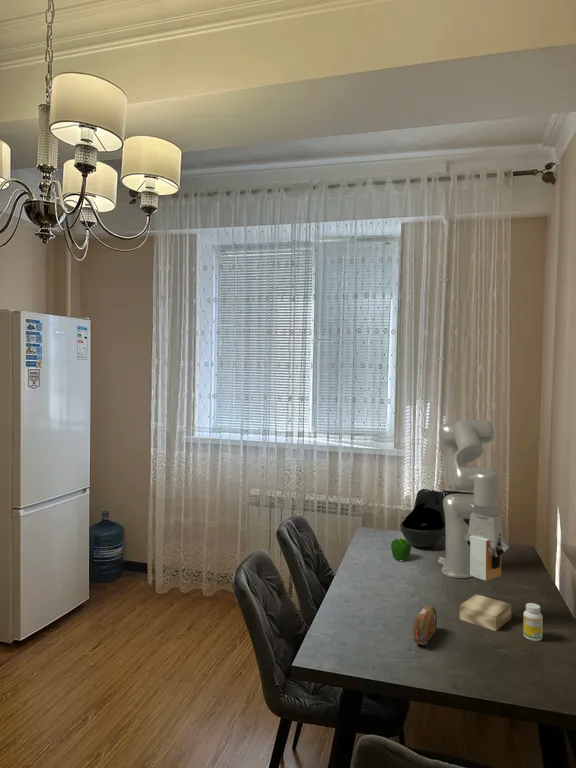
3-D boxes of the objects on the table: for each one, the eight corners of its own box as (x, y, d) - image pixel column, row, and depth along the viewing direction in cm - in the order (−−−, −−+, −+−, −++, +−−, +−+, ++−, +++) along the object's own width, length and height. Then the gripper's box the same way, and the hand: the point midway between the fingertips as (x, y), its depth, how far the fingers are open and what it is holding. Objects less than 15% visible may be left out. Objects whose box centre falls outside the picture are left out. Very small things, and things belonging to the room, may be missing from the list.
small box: (486, 581, 176) (486, 540, 176) (469, 575, 181) (469, 535, 181) (501, 576, 180) (502, 536, 180) (485, 570, 186) (485, 531, 185)
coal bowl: (431, 556, 241) (431, 513, 241) (391, 547, 255) (391, 506, 254) (452, 546, 256) (452, 505, 256) (414, 537, 270) (414, 498, 269)
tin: (422, 650, 161) (421, 621, 161) (411, 647, 163) (411, 619, 162) (437, 629, 174) (437, 603, 174) (427, 627, 175) (427, 601, 175)
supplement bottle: (538, 643, 165) (538, 611, 165) (520, 636, 169) (520, 605, 168) (545, 637, 168) (545, 605, 168) (527, 631, 172) (528, 600, 172)
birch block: (459, 620, 181) (459, 605, 181) (476, 608, 190) (476, 594, 189) (495, 632, 173) (495, 616, 173) (511, 619, 181) (511, 604, 181)
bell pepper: (396, 554, 244) (396, 532, 244) (413, 558, 240) (413, 535, 239) (387, 560, 238) (387, 537, 237) (405, 564, 233) (405, 540, 232)
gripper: (456, 506, 185) (455, 560, 185) (504, 517, 171) (504, 575, 171) (469, 503, 189) (469, 555, 190) (517, 513, 176) (516, 569, 176)
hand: (485, 564), depth 181 cm, fingers closed on small box, 6 cm apart
